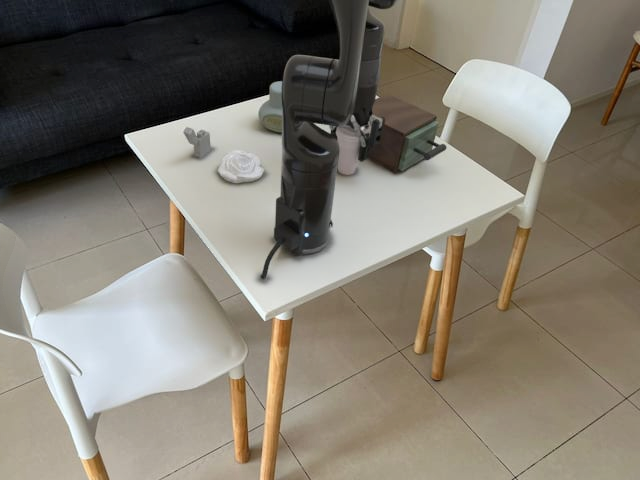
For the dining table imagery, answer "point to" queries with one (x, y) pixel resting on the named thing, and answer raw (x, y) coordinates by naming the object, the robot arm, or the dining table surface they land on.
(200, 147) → the lighter
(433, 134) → the drawer
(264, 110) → the air freshener
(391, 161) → the cabinet
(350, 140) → the smoothie
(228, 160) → the rose
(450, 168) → the dining table surface
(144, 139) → the dining table surface
